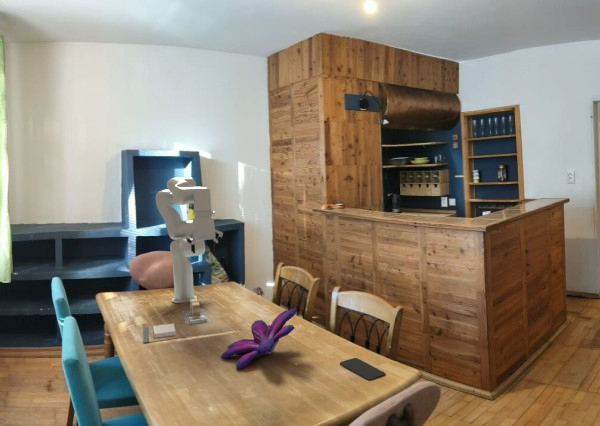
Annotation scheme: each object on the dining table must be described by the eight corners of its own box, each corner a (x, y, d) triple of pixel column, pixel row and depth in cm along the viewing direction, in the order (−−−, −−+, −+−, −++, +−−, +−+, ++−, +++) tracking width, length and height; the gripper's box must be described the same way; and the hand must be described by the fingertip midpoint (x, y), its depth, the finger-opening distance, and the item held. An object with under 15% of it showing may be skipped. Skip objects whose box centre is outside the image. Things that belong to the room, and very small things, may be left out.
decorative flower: (237, 396, 137) (222, 368, 136) (227, 364, 167) (214, 341, 166) (321, 342, 144) (307, 315, 143) (297, 320, 174) (285, 298, 173)
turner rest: (182, 313, 207) (182, 311, 207) (204, 310, 211) (203, 308, 211) (186, 327, 187) (186, 325, 187) (210, 324, 190) (210, 322, 190)
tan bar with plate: (186, 312, 205) (185, 299, 204) (201, 310, 207) (201, 297, 207) (190, 324, 188) (189, 310, 188) (207, 321, 190) (206, 307, 190)
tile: (153, 326, 182) (154, 334, 173) (173, 323, 185) (175, 331, 175) (153, 331, 182) (154, 339, 173) (174, 328, 185) (175, 336, 175)
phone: (368, 380, 133) (338, 362, 146) (368, 382, 133) (338, 365, 146) (387, 373, 137) (356, 357, 150) (387, 376, 137) (356, 359, 150)
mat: (143, 328, 187) (143, 327, 187) (182, 323, 192) (182, 322, 192) (143, 343, 170) (143, 342, 170) (186, 337, 175) (186, 336, 175)
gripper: (220, 213, 209) (222, 249, 210) (182, 215, 203) (184, 252, 205) (223, 214, 202) (225, 251, 203) (184, 216, 196) (186, 255, 198)
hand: (204, 252), depth 204 cm, fingers open, 9 cm apart
